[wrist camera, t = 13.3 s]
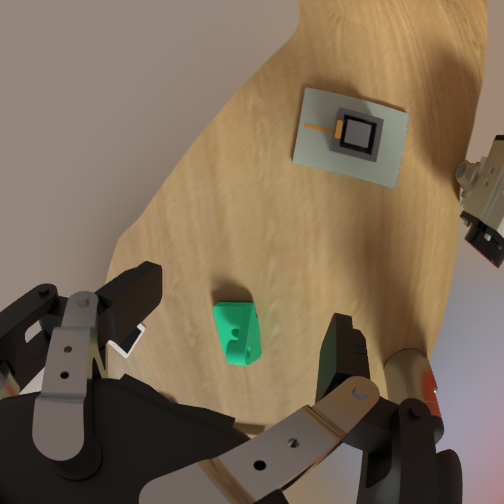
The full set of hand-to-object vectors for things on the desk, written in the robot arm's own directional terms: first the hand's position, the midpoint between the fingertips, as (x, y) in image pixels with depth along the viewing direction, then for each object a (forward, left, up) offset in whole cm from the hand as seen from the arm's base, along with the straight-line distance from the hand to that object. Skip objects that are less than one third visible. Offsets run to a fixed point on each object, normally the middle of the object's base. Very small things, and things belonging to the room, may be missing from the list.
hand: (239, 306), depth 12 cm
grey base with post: (-6, -10, -32) cm, 34 cm away
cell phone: (+36, +43, -33) cm, 65 cm away
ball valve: (-28, -10, -32) cm, 44 cm away
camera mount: (+6, +27, -32) cm, 43 cm away
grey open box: (-6, -10, -31) cm, 33 cm away
